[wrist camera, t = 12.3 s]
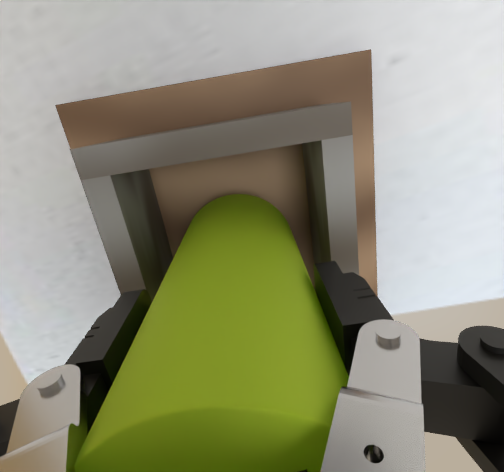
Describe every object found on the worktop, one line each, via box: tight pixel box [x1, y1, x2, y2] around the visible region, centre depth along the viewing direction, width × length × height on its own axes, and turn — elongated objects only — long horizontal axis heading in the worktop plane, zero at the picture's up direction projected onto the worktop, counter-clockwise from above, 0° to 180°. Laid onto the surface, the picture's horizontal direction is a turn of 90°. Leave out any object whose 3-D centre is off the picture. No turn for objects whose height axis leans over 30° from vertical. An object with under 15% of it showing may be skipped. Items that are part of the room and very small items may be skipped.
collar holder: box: [55, 50, 377, 301], centre depth 17 cm, size 16×16×6 cm
